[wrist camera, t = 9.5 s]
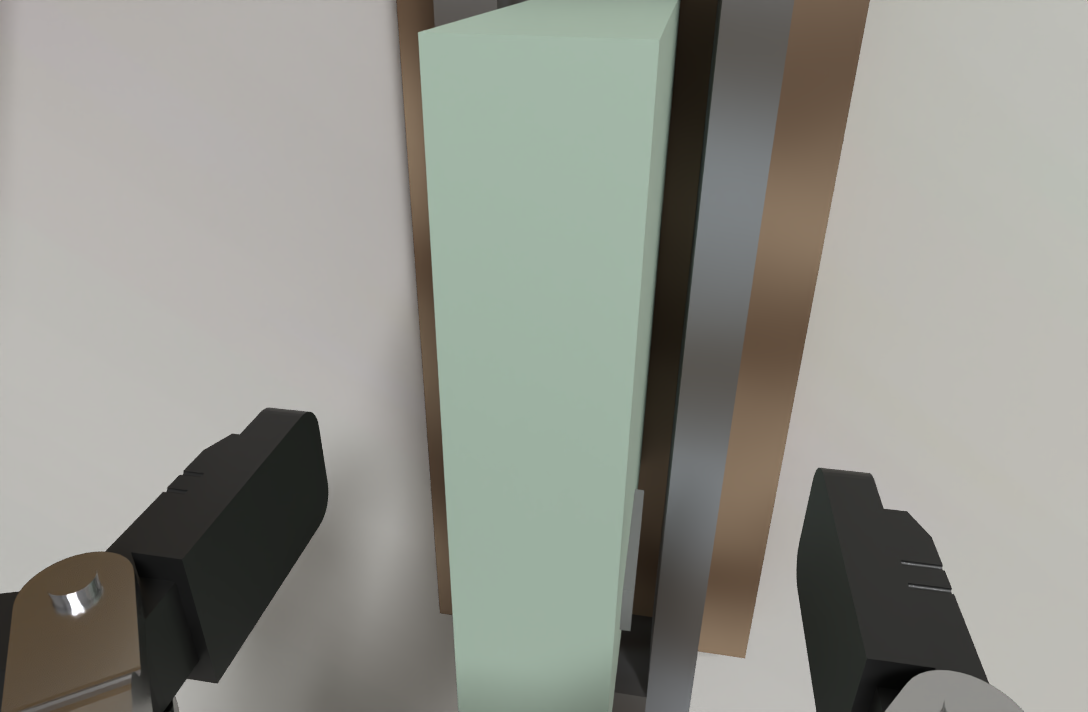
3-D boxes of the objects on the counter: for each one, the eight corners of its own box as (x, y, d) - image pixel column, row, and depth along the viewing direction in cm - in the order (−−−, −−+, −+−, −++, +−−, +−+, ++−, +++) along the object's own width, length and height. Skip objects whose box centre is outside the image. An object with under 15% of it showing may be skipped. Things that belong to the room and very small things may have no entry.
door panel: (567, -11, 16) (418, 33, 8) (691, -9, 16) (680, 40, 7) (556, 453, 22) (462, 783, 13) (648, 463, 22) (612, 809, 13)
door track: (401, -285, 16) (304, -361, 12) (910, -302, 14) (988, -396, 11) (452, 581, 27) (410, 687, 23) (742, 622, 26) (750, 743, 22)
